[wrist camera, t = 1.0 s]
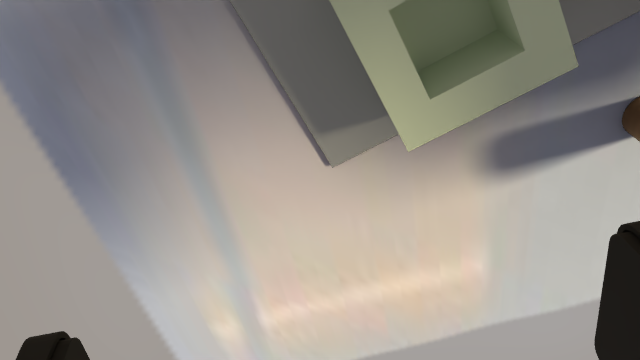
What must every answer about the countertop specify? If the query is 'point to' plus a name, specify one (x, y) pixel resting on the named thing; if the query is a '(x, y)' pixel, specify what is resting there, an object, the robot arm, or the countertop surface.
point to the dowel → (632, 119)
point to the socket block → (454, 56)
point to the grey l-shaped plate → (357, 65)
